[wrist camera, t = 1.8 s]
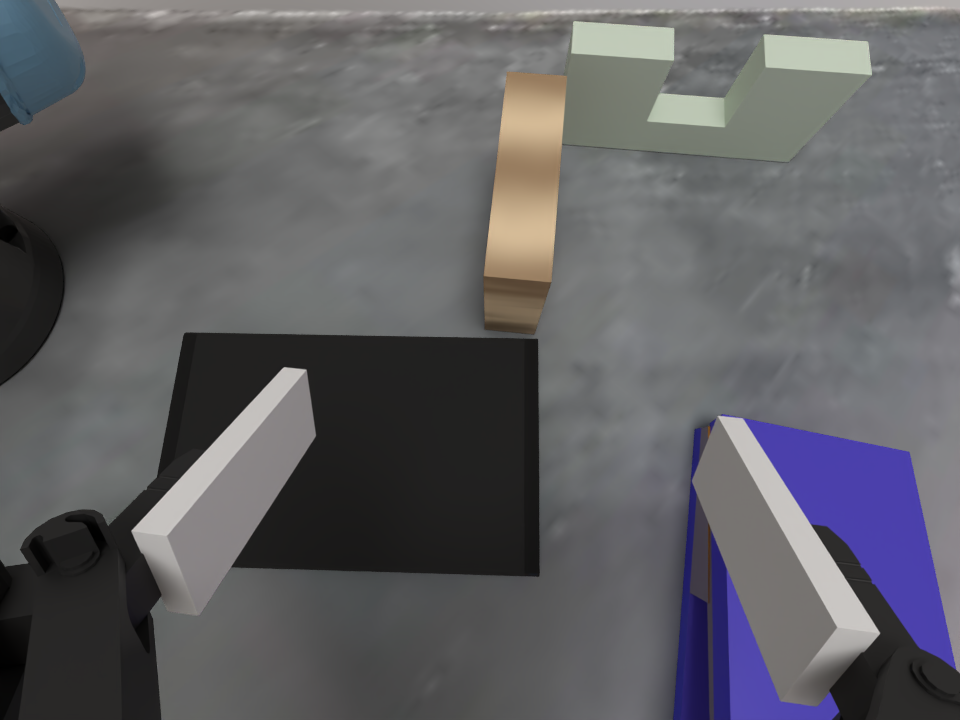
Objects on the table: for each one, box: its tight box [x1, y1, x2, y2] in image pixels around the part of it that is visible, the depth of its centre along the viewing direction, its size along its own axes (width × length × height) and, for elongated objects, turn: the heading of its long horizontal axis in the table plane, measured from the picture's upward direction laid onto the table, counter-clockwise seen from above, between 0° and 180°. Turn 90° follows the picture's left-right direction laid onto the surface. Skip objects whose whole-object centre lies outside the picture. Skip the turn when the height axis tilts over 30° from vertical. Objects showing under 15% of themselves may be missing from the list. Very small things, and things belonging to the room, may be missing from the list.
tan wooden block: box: [484, 72, 567, 334], centre depth 30 cm, size 13×4×9 cm, turn 174°
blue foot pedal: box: [673, 414, 956, 720], centre depth 23 cm, size 12×28×10 cm, turn 169°
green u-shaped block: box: [562, 21, 872, 162], centre depth 32 cm, size 18×2×8 cm, turn 84°
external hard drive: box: [157, 333, 540, 577], centre depth 30 cm, size 14×23×3 cm, turn 89°
